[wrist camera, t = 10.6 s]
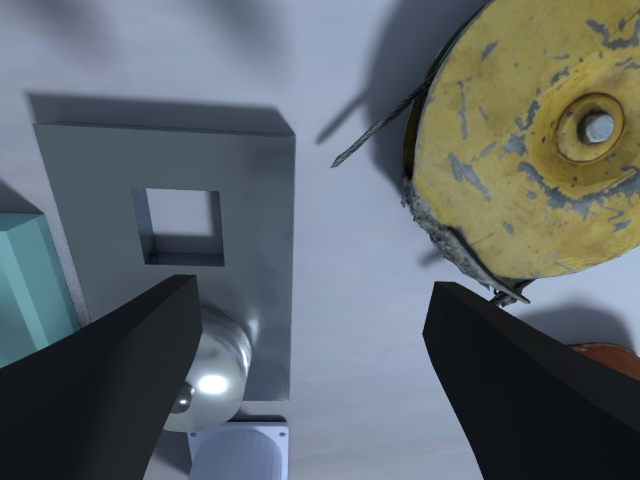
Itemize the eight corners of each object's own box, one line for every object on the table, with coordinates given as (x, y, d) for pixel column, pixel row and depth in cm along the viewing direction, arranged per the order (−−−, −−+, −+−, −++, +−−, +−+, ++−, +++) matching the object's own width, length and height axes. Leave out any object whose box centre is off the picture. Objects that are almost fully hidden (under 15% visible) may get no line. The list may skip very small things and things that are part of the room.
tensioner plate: (289, 383, 24) (285, 455, 19) (126, 382, 23) (78, 457, 18) (296, 135, 16) (291, 149, 12) (56, 121, 16) (-54, 131, 11)
